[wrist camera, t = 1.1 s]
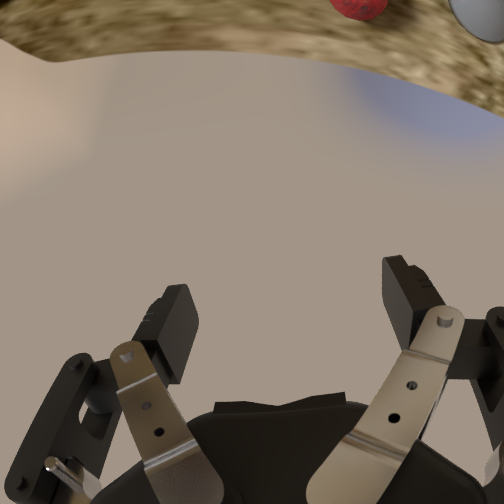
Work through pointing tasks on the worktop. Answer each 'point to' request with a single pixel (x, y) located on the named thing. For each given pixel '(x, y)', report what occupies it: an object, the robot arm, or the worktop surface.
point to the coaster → (480, 17)
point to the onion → (360, 8)
